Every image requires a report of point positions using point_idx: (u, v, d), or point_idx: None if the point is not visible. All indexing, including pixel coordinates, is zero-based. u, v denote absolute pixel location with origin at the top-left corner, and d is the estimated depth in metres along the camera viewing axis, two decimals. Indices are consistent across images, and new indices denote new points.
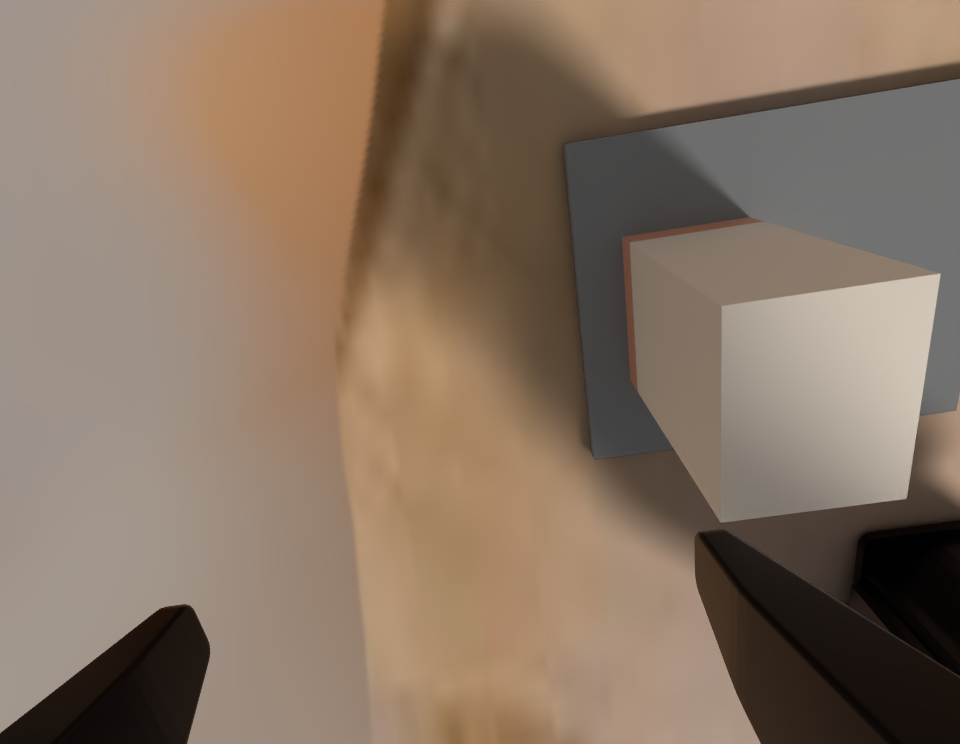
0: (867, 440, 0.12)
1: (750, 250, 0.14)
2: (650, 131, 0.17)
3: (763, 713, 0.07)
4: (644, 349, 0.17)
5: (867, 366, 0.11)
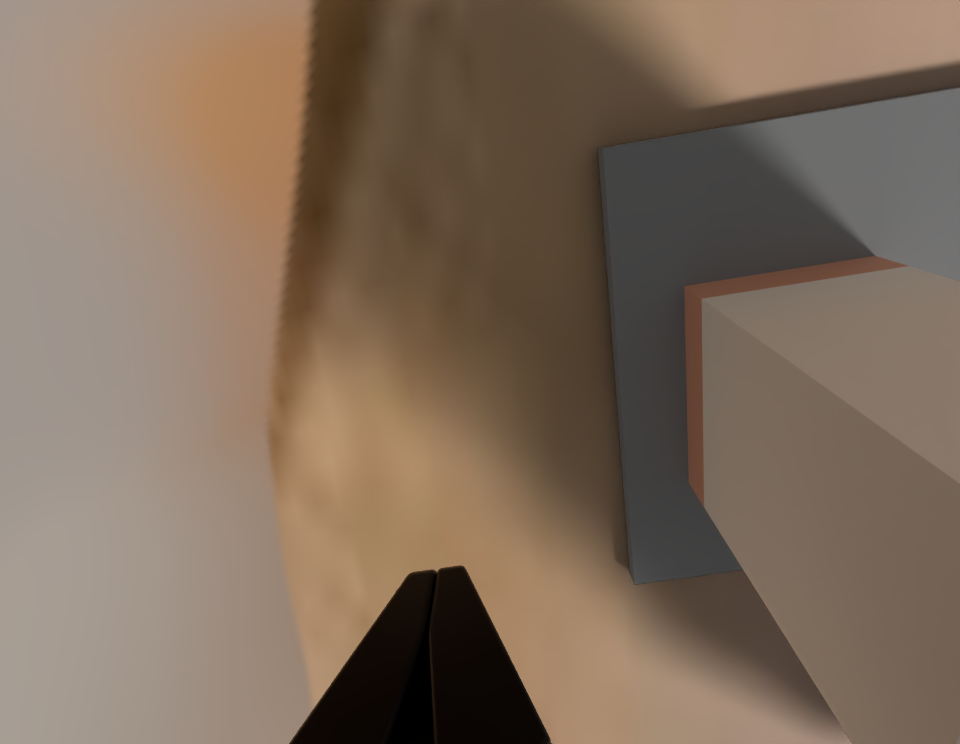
0: None
1: (937, 333, 0.08)
2: (734, 128, 0.11)
3: None
4: (724, 461, 0.11)
5: None
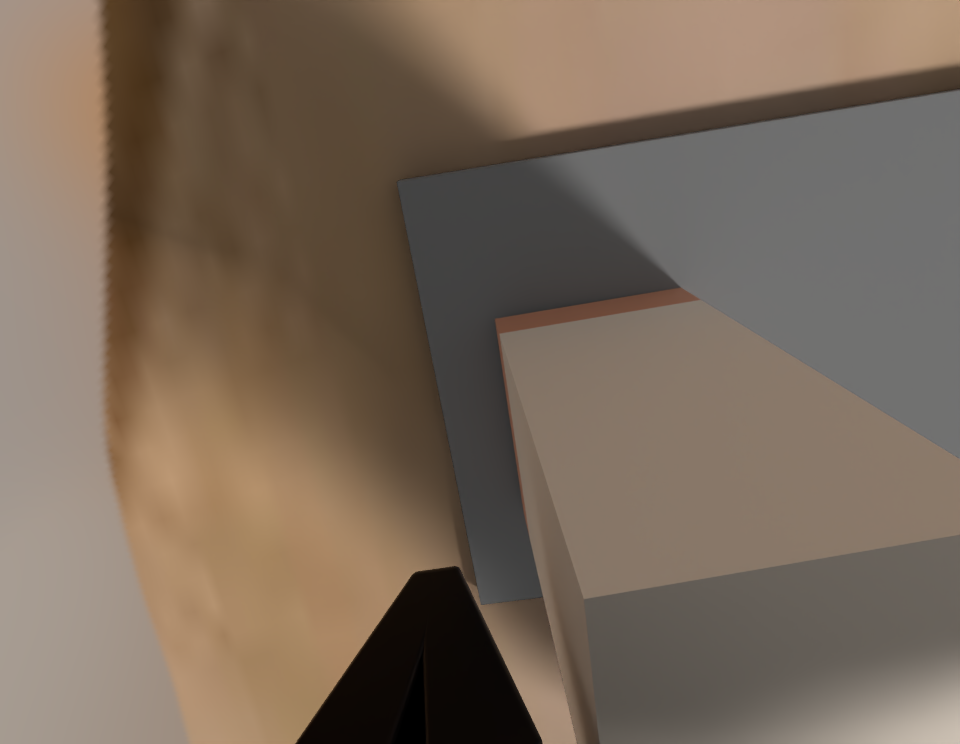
0: None
1: (671, 377, 0.08)
2: (524, 163, 0.11)
3: None
4: (526, 496, 0.11)
5: (894, 683, 0.05)
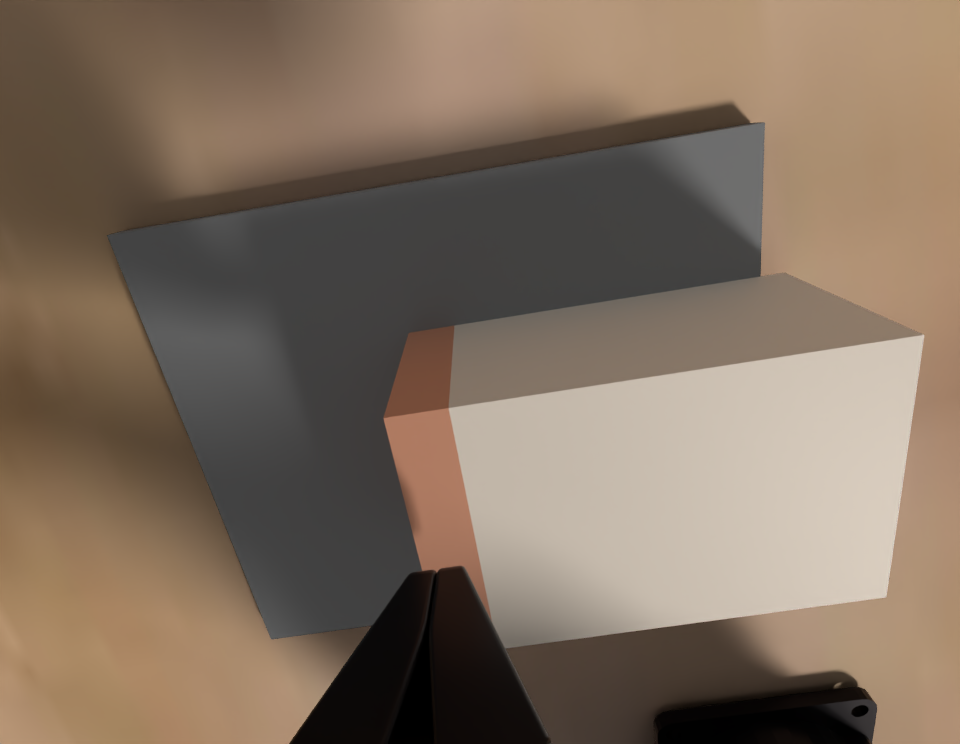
0: None
1: (622, 328, 0.11)
2: (231, 216, 0.11)
3: None
4: (547, 556, 0.10)
5: None
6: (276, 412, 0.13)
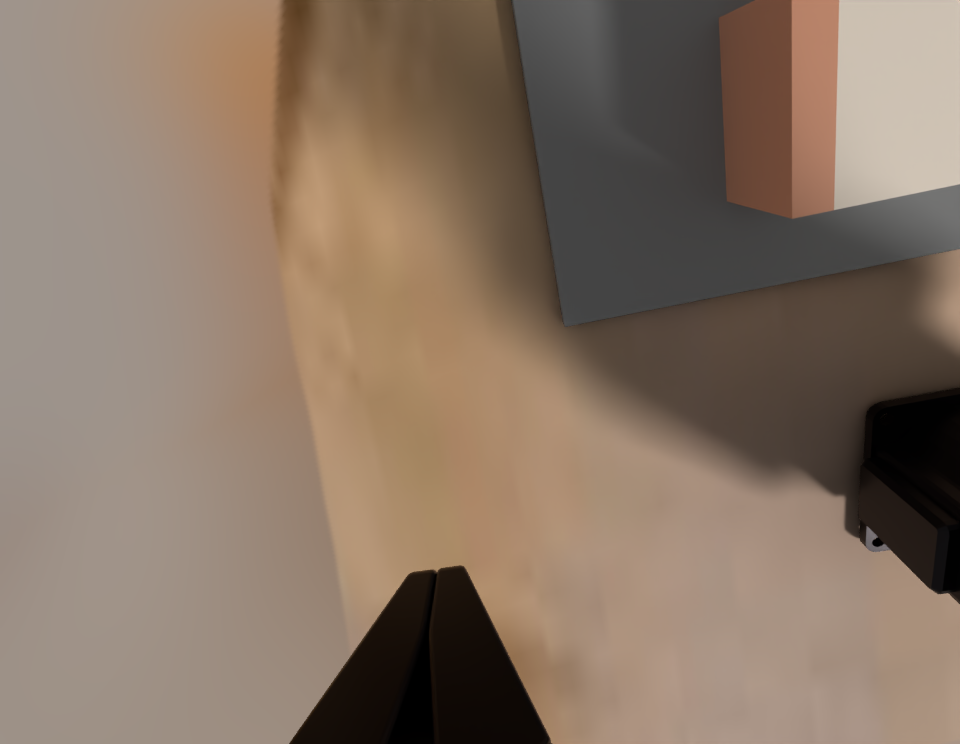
0: None
1: None
2: None
3: None
4: (887, 113, 0.13)
5: None
6: (604, 98, 0.17)
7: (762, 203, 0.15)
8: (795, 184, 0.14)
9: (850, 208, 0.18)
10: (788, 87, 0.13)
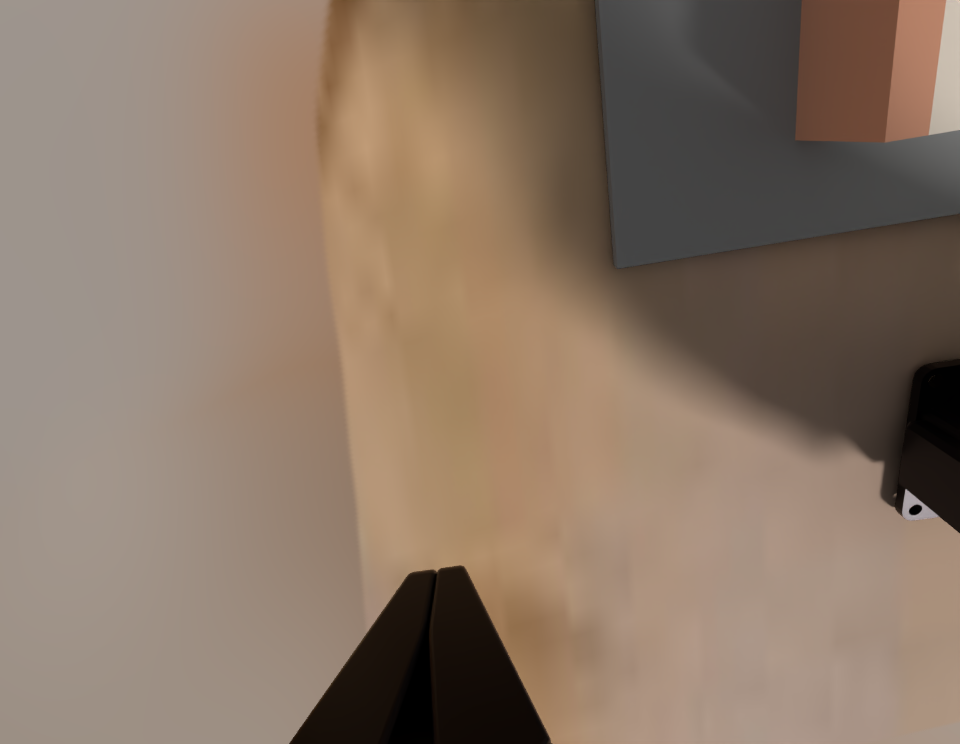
0: None
1: None
2: None
3: None
4: None
5: None
6: (679, 20, 0.16)
7: (844, 133, 0.15)
8: (891, 104, 0.13)
9: (919, 154, 0.17)
10: None
